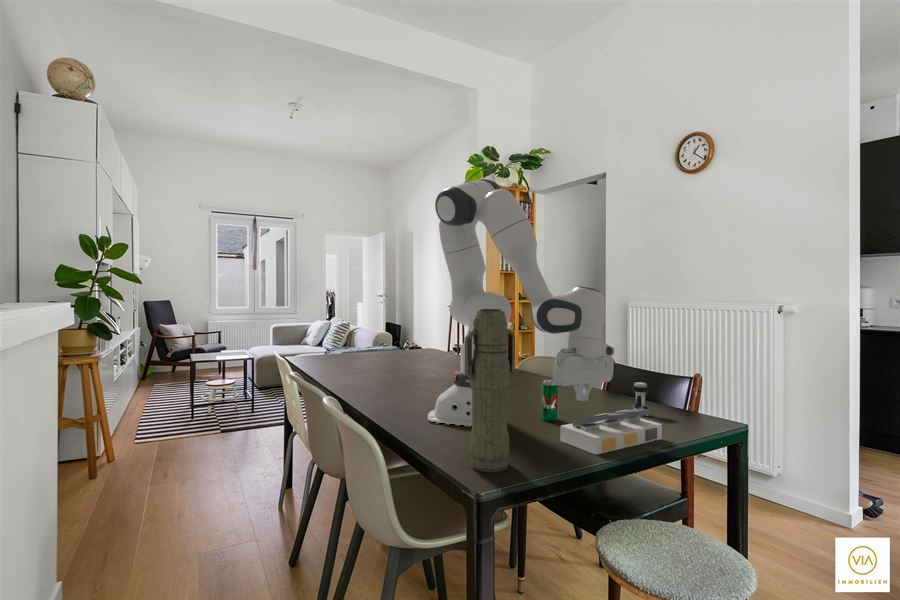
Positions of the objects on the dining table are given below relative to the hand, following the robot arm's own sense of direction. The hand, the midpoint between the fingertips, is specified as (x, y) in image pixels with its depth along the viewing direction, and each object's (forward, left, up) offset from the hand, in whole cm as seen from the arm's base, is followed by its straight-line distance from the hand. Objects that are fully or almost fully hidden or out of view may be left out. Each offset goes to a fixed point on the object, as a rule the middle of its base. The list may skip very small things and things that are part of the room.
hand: (582, 400), depth 123 cm
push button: (+24, +28, -11) cm, 38 cm away
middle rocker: (+8, 0, -4) cm, 9 cm away
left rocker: (+1, -4, -4) cm, 6 cm away
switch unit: (+8, 0, -10) cm, 13 cm away
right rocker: (+14, +5, -4) cm, 16 cm away
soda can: (-6, +18, -11) cm, 22 cm away
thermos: (-24, -22, -11) cm, 34 cm away
